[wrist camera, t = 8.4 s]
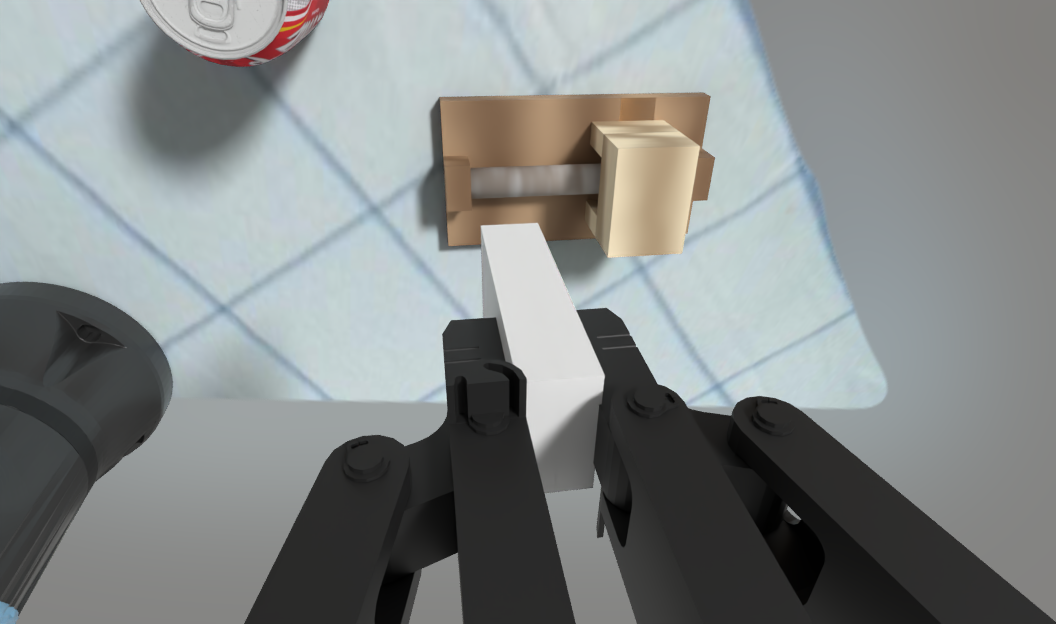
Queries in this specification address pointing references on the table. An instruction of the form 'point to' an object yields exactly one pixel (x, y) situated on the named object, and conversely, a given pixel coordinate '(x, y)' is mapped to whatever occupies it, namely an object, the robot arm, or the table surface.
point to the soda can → (236, 27)
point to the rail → (545, 157)
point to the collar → (641, 187)
